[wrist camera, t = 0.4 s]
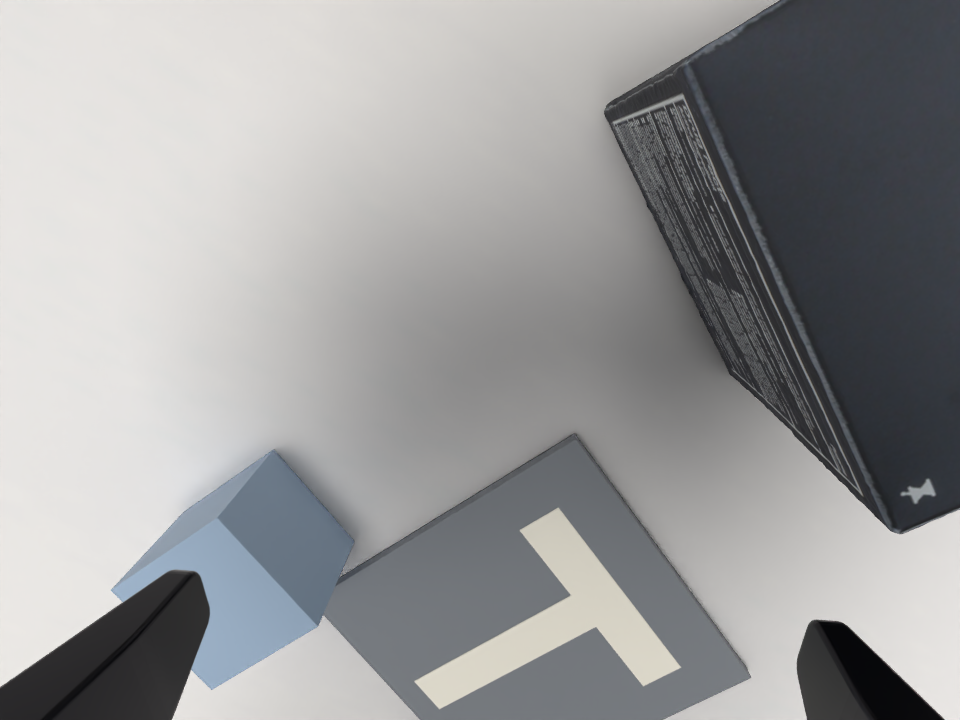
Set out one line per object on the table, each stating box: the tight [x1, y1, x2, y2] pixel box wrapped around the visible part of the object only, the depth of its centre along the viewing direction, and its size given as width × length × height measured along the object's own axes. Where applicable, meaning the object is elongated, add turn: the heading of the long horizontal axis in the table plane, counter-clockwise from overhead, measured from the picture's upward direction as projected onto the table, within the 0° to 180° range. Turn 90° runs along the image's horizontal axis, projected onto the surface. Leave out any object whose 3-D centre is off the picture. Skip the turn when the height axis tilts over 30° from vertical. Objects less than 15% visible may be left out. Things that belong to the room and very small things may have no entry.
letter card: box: [323, 434, 751, 720], centre depth 27 cm, size 13×13×1 cm
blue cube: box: [111, 450, 354, 690], centre depth 24 cm, size 5×5×5 cm
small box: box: [604, 0, 960, 534], centre depth 16 cm, size 11×6×10 cm, turn 30°
